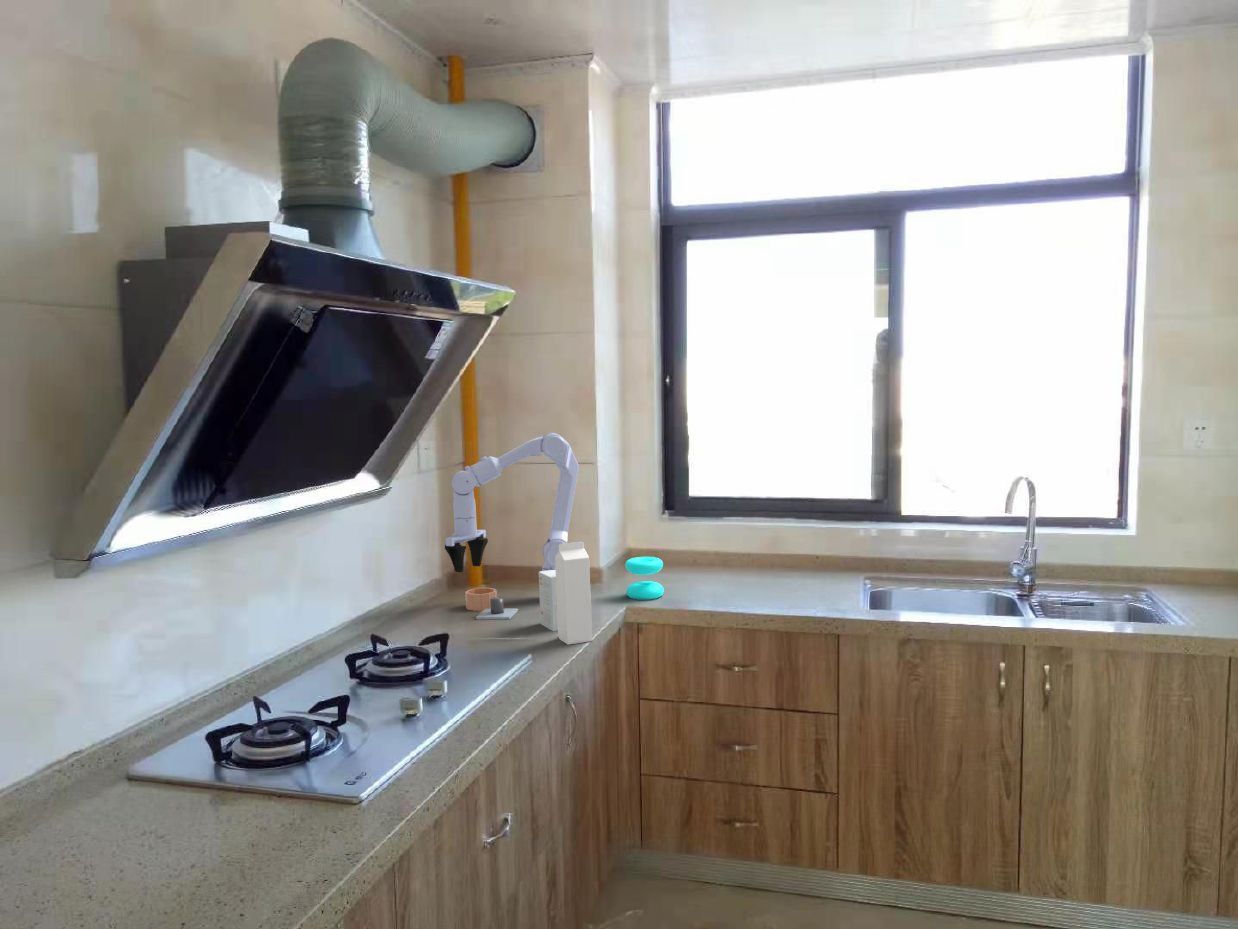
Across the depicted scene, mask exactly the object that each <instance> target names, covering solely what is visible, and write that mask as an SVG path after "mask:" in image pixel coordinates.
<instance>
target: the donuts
mask: <svg viewBox="0 0 1238 929" xmlns="http://www.w3.org/2000/svg"><path fill="white" fill-rule="evenodd" d="M624 566H625V569H626V570H627V571H628V573H631V574H633V575H638V576H641V575H642V576H645V575H646V576H647V575H653V574H657V573H658V572H660V571H661V570H662V569H663V566H664V562H663V560H662V559H660V558H658V557H655V556H637V557H631V558H629V559H628V560H626V562H625V564H624ZM625 591H626V592H625V593H626V596H628V597H629V598H630V599H633V600H639V601H641V600H643V601H645V600H646V601H648V600H655V599H658V598H660V597H662V596H663V594H664V593H665V589H664V587H663V585H661V583H658V582H656V581H651V580H648V581H647V580H644V581H643V580H642V581H641V580H640V581H636V582H633V583H631V584H629V585H628V586H627V588H626V590H625Z"/></svg>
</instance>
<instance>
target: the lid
mask: <svg viewBox="0 0 1238 929" xmlns="http://www.w3.org/2000/svg"><path fill="white" fill-rule="evenodd" d="M490 606H491V609H484V610H482V611H480V613H479V614H477V616H475V619H510V618H511V617H512V616H513V615H514V614H515V613H516V612H517V611H519V608H511V607H509V608H506V607H505V608H504V598H503V597H500V596H497V597H495V598H491V599H490Z"/></svg>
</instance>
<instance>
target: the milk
mask: <svg viewBox="0 0 1238 929" xmlns="http://www.w3.org/2000/svg"><path fill="white" fill-rule="evenodd" d="M555 569H556V593H557V617H558V630H557V633H558V634H557V637H558V640H560V641H562V642H563V643H564V644H566V645H574V644H580V643H581V644H582V643H588V642H593V622H592V621H593V620H592V619H593V618H592V600H591V599H592V597H591V571H590V569H591V568H590V556H589V554H588V553H587V550H586V549H585V542H584V541H574V542H567V543H563V544H559V551H558V553H557V554H556V555H555Z"/></svg>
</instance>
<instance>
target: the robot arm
mask: <svg viewBox="0 0 1238 929" xmlns="http://www.w3.org/2000/svg"><path fill="white" fill-rule="evenodd" d="M542 453H544V455H545V456H546V457H547V458H548V459H549V460H551V461H553V462H554V463H555V465H556V466H557V468H558V469H559V470H560V471H559V478H558V484H557V490H556V496H555V501H554V508H553V512H552V518H551V523H550V529H549V532H548V537H547V540H546V541H545V543H544V545H543V546H542V556H543V557H544V558H543V559H544V563H543V564H542V565H541V571H548V570H556V569H555V555H556V554H557V553H558V551H559V544H563V543H568V534H569V529H570V521H571V516H572V510H573V505H574V500H575V492H576V488H577V482H578V476H579V470H580V466H579V463H578V461H577V458H576V457H575V454H574V452H573V449H572V447H571V445H570V444H569V443H568V441H567V440H566V439H565V438H564V437H562V436H561V435H560V434H559V433H556V432H548V433H546V434H545V435H542V436H541V435H540V436H538V437H536V438H535V437H534V438H533V439H530V440H528V441H526V442H524V443H522V444H521V445H519V446H517V447H515V448H513V449H511V450H509V451H508V452H506V453H504V454H502V455H500V456H498V457H495V456H491V455H489V456H488V457H487V456H482V457H481V459H480V461H478V462H476V463H474V464H472V465H470V466H469V465H467V466H465V467H464V469H465V470H460V471H457V472H456V473H455V474H454V475H453V477H452V480H451V487H452V490H453V493H452V496H453V501H452V504H453V505H452V506H453V522H454V523H453V524H454V525H453V526H454V533H451V536H448V537H446V538H445V544H444V550H445V551H446V553H447V554H448V556H449V557H450V560H451V563H452V566H453V569H454V572H455V573H463V572H464V567H465V566H464V563H465V562H464V560H465V553H466V550H467V546H466V545H462V544H463V543H466V544H467V545H468V548H469V551H470V559H471V564H472V565H471V566H473V567H481V565H482V559H483V555H484V551H485V548H486V546H487V544H488V542H489V541H488V537H487V534H486V533H487V531H486V529H478V527H477V526H478V525H477V509H476V499H475V498H476V497H475V487H478V488H479V487H481V486H483V485H485V484H487V483H489V482H490V481H494V480H495V479H496V478H499V477H501V475H502V472H503V469H506V468H507V467H510V466H511V465H514V464H516V463H518V462H520V461H522V460H524V459H527V458H528V457H542ZM486 537H487V538H486ZM539 603H540V600H539Z"/></svg>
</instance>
